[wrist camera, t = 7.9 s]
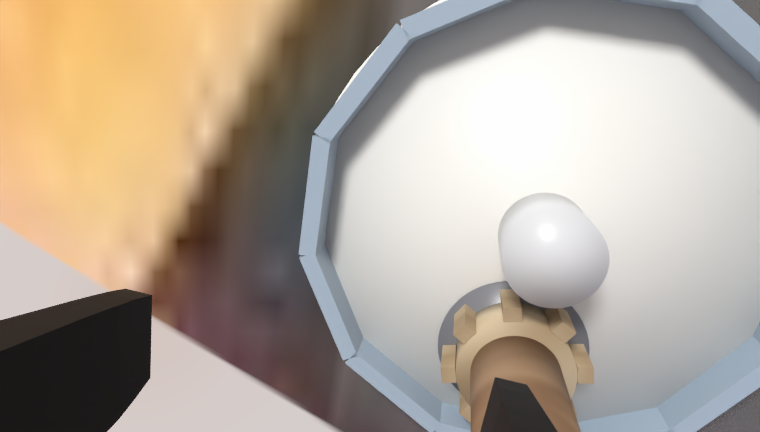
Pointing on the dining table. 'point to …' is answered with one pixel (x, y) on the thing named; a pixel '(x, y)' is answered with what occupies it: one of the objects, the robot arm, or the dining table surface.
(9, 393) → the robot arm
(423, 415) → the carrier plate
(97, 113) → the dining table surface
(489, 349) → the gear
